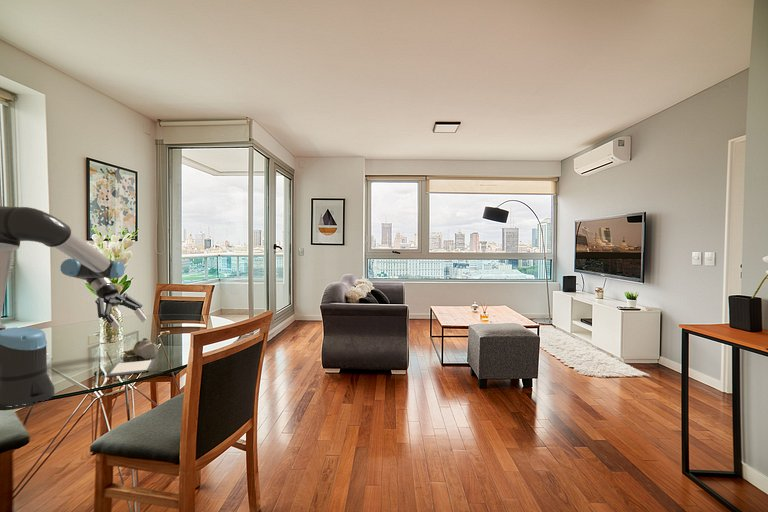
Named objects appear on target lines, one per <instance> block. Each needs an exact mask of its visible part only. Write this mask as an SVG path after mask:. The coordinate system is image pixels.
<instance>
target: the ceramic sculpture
mask: <svg viewBox="0 0 768 512" xmlns="http://www.w3.org/2000/svg"><path fill="white" fill-rule="evenodd" d="M159 350H160V349H159V346H158V345H157V344H156V343H153V342H152V341H151V340H150V339H148V338H146V337H144V338H142V339H141V340H138V341H136V343H135V344H134V346H133V349H129V350H125V351H124V353H125V354H126V355H127V356H130V357H133V356H137V357H139V358H143V359H144V360H152V359H153V358H155V357H157V355H158V353H159Z"/></svg>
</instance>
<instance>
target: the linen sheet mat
mask: <svg viewBox="0 0 768 512" xmlns="http://www.w3.org/2000/svg"><path fill="white" fill-rule="evenodd" d="M154 363H155V359H146V360H140V361H139V360H138V361H129V362H118V363H115V364H114V365H113V367H112V368H111V369H110V370H109V371H108V373H107V374H106V375H105V377H107V378H108V377H118V376H126V375H134V373H137V374H141V373H140V372H143V371H144V370H147V369H148V368H151V369H152V367H153V366H154ZM151 366H152V367H151Z"/></svg>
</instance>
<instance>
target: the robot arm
mask: <svg viewBox="0 0 768 512" xmlns="http://www.w3.org/2000/svg"><path fill="white" fill-rule="evenodd" d="M21 242H35V243H39V244H42V245H44V246H46V247H49V248H55V249H56V250H58V251H60V252H62V253H63V254H65V255H66V256H68V257H70V258H67V259H65V260H64V261H62V262H61V265H60V268H59V269H60V272H61V273H62V274H63V275H65V276H67V277H69V278H76V279H80V280H84V281H86V282H87V284H88V285H89V287H90V288H91V289H92V291H93V292H94V293H95V294H96V296H97V298H96V299H95V302H94V303H95V304H96V307H97V309H96V310H97V317H98V318H99V319H102V320H106V322H107V323H108V324H111V326H112V328H113V329H114V330H117V329H119V327H120V326H121V325H120V323H119V321H118V320H117V319H116V318H115V316H113V314H112V313H110V312H111V309H112V307H114V306H124V307H125V308H128V309H131V310H132V311H133V312H134V314H135V315H136V316H137V318H138V319H139V320H140V321H141V323H144V322H145V321H147V319H148V318H147V317H146V315H145V312H143V310H142V308H143V306H144V305H143V304H142V303H140V302H138V300H135V298H133V297H131V296H129V295H128V294H127V293H126V292H124V293H123V294H120V293H119V290H118V288H117V287H116V286H115V285H114V283H113V282H112V281H111V279H119V278H121V277H123V276H124V275H125V271H126V267H125V264H124V262H123V261H120V260H111V259H110V258H109V257H107V256H106V255H104V254H103V253H102V252H100V251H99V250H98V249H96V248H94V246H92V245H90V244H89V243H87V242H86V241H85V240H84V239H82V238H80V237H79V236H78V235H77V234H75V233H74V232H73V231H72V228H71V227H70V226H69V225H67V223H65V222H64V221H62V220H61V219H59V218H57V217H55V216H54V215H52V214H50V213H47V212H45V211H43V210H40V209H37V208H33V207H27V206H0V411H10V410H11V411H12V410H17V409H23V408H27V407H32V406H35V405H38V404H41V403H44V402H45V400H46V401H47V400H50V399H51V398H53V397H54V396H55V393H56V392H55V385H54V384H53V381H52V380H51V377H50V376H49V374H48V368H47V366H48V365H47V363H48V360H47V359H48V358H47V346H48V345H47V344H48V341H47V339H46V333H45V331H44V330H43V329H41V328H36V327H29V326H28V327H27V326H21V327H8V328H7V327H6V326H5V325H4V324H3V323H2V322H1V320H2V315H3V308H4V302H5V296H6V291H7V284H8V278H9V273H10V268H11V261H12V256H13V253H14V252H15V251H16V250H18V249H20V246H21ZM104 303H105V307H104ZM38 401H42V402H38ZM33 402H37V403H33ZM28 403H29V404H28ZM22 404H26V405H22ZM15 405H18V406H15ZM4 406H12V407H4Z"/></svg>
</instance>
